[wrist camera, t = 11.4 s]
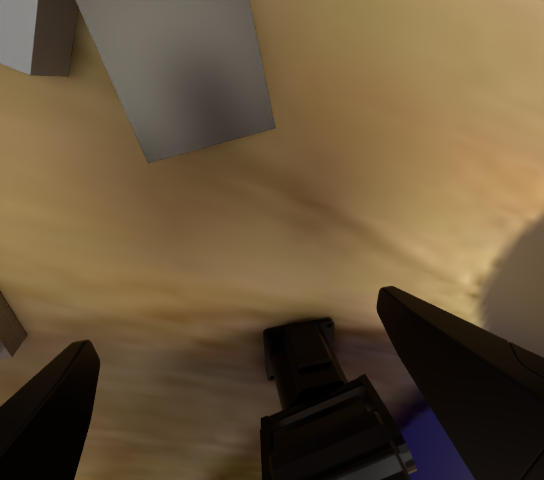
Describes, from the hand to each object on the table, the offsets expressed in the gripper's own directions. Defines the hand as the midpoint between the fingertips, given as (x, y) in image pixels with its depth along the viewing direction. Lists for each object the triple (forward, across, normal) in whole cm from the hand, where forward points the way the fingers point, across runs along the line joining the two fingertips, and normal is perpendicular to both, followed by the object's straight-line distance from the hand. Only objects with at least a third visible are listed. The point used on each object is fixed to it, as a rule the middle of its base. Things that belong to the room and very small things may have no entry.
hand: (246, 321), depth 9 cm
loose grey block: (+12, +1, -8) cm, 15 cm away
